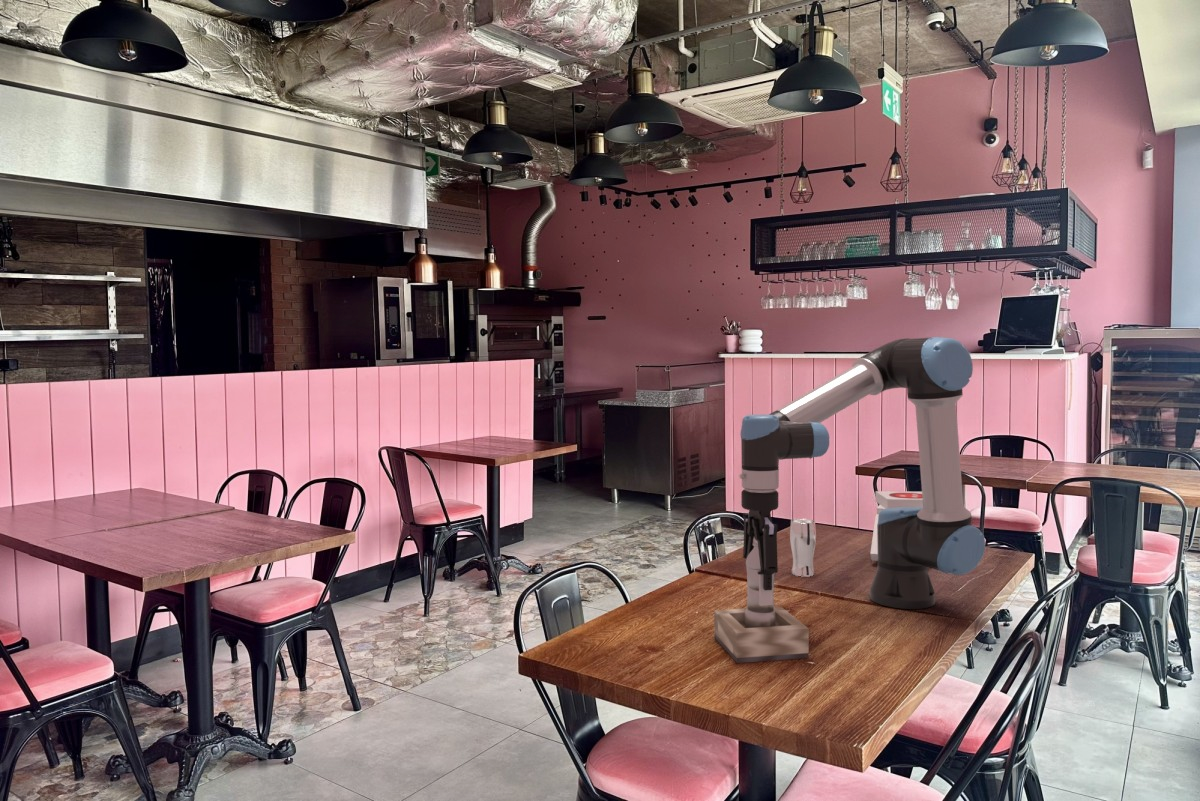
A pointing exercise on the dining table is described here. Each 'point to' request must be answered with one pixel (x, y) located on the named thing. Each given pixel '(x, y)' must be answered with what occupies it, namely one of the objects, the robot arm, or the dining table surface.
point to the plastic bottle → (757, 594)
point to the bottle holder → (761, 637)
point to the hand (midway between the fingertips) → (759, 599)
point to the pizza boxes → (892, 501)
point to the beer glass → (802, 546)
